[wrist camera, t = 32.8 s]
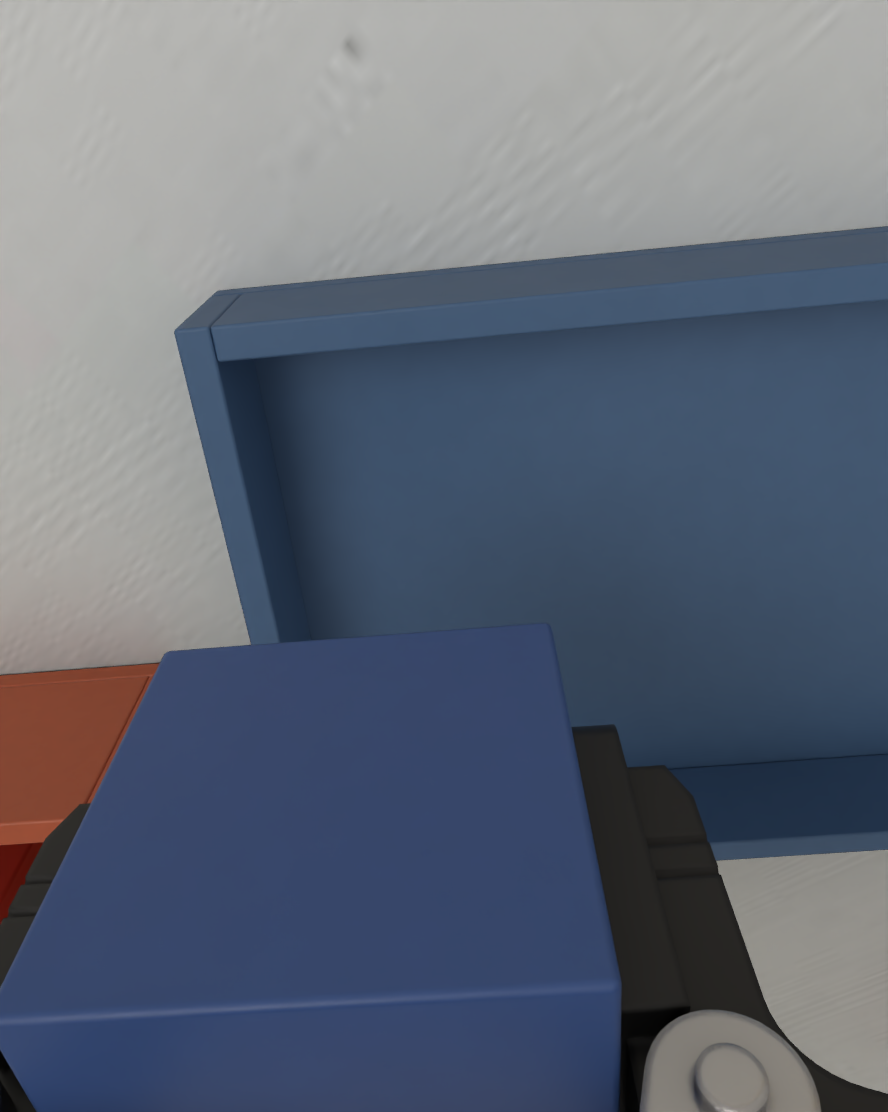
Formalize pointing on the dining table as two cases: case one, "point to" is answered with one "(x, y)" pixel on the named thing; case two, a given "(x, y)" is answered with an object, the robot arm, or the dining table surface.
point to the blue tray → (593, 496)
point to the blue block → (330, 893)
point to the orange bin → (60, 742)
